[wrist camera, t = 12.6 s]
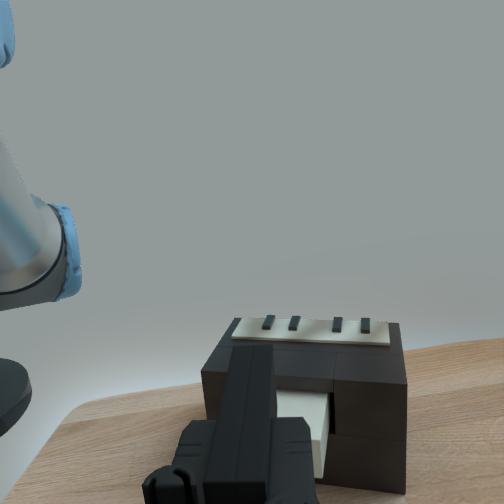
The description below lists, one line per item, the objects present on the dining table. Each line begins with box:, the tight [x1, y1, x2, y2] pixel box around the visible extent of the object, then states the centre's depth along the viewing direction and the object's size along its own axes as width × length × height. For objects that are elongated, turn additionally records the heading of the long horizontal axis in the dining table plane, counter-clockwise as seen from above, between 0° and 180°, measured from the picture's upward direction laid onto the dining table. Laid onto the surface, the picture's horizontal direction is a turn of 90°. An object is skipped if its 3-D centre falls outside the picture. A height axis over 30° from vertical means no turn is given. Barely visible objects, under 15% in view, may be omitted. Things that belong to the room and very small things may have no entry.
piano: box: [201, 315, 407, 494], centre depth 40 cm, size 16×10×11 cm, turn 76°
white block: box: [276, 389, 331, 478], centre depth 34 cm, size 4×7×3 cm, turn 166°
